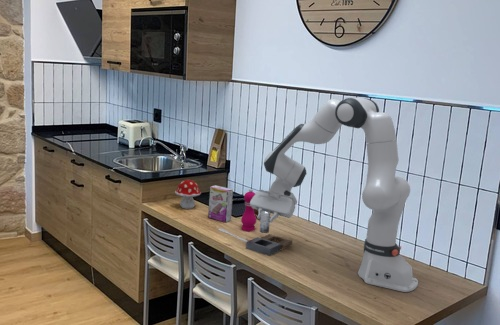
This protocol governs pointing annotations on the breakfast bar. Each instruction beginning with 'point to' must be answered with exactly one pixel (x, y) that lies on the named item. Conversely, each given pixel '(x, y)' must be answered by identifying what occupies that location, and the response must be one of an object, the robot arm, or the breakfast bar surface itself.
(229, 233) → the butter knife
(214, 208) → the candy bar box
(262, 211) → the steel axle
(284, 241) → the wooden picture frame
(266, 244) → the socket block
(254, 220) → the pepper mill
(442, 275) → the breakfast bar surface
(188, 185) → the decorative mushroom
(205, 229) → the breakfast bar surface
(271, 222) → the robot arm
